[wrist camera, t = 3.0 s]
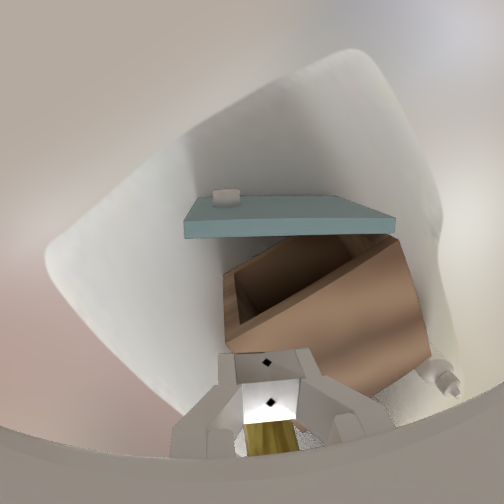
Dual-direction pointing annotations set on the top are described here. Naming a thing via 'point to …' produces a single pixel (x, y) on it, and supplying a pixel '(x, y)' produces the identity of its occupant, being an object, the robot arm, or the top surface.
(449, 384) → the eye dropper bottle
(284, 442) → the vase
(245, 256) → the top surface
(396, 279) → the cabinet box
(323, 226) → the door
